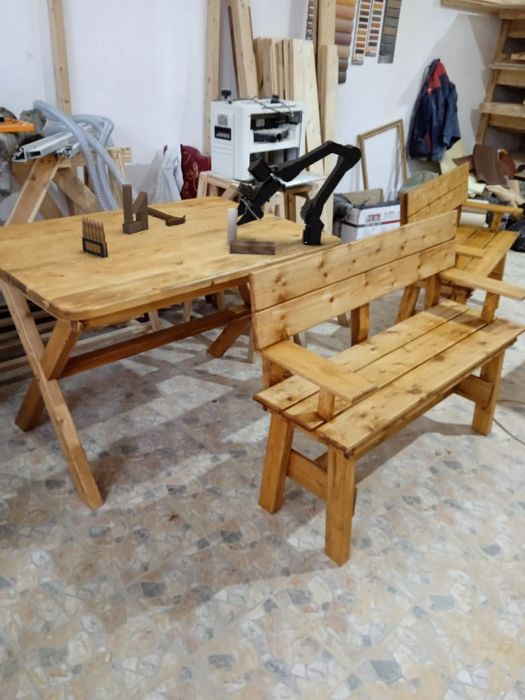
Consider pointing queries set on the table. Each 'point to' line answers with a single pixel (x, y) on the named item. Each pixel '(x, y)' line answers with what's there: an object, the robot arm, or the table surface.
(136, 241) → the table surface
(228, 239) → the dowel
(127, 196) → the brown wooden bracket
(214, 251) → the table surface
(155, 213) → the hammer
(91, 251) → the ammunition clip
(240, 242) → the beam
